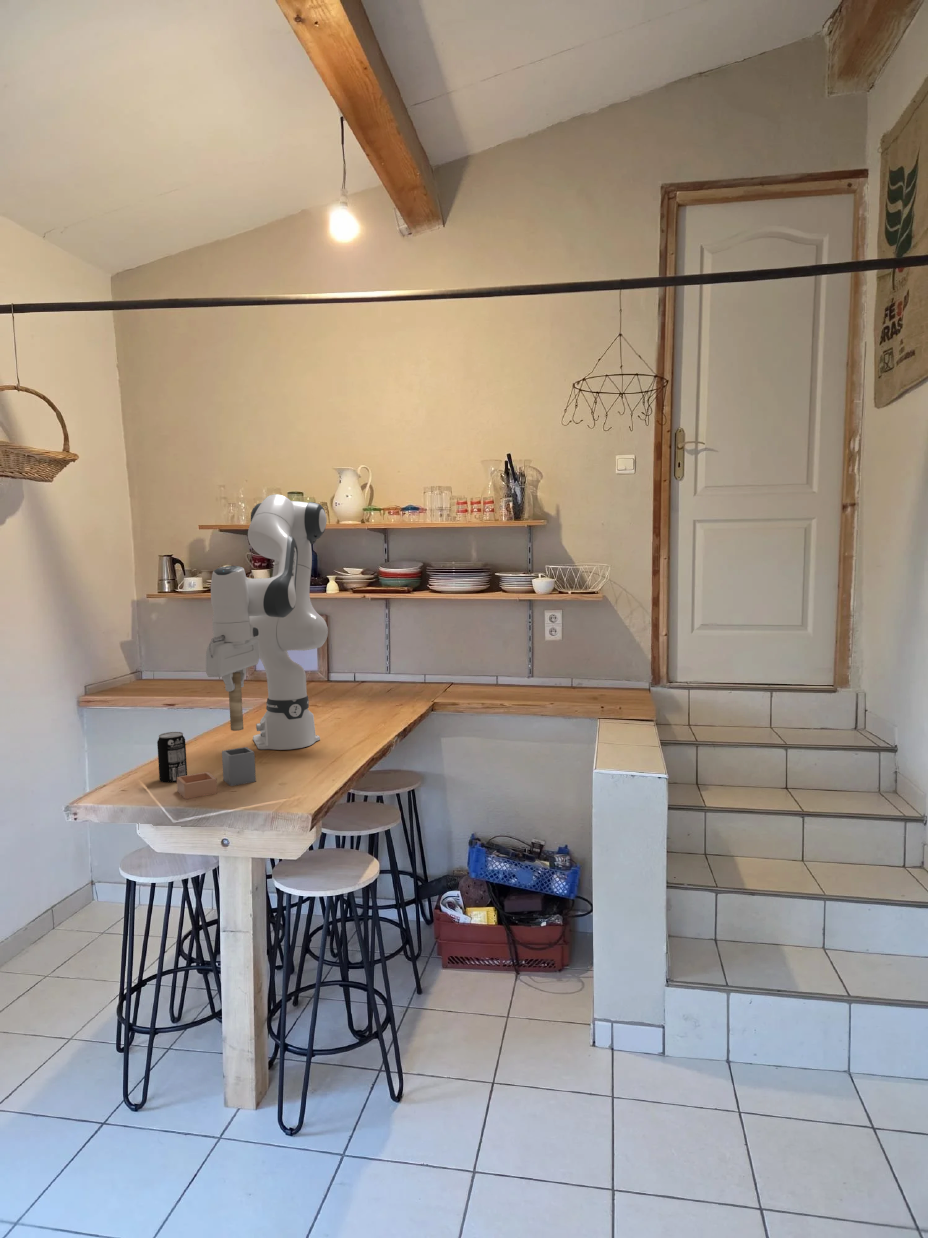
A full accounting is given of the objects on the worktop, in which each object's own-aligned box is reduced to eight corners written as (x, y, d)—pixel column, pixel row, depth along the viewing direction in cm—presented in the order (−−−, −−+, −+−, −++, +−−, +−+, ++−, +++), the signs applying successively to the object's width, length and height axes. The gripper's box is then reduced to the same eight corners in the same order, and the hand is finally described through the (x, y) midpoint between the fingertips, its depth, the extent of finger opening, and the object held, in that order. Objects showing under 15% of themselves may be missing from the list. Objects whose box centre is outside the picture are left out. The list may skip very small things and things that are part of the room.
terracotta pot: (177, 793, 188) (176, 777, 188) (208, 787, 192) (208, 771, 192) (184, 801, 182) (184, 784, 181) (217, 795, 186) (216, 778, 185)
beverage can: (166, 777, 202) (163, 731, 201) (191, 777, 202) (188, 731, 201) (155, 785, 195) (152, 737, 194) (181, 785, 195) (178, 737, 194)
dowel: (229, 729, 195) (226, 673, 193) (241, 727, 196) (238, 671, 195) (232, 731, 192) (229, 674, 191) (245, 729, 194) (242, 673, 192)
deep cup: (223, 782, 196) (221, 750, 196) (248, 778, 200) (246, 747, 199) (230, 788, 191) (229, 756, 190) (255, 783, 194) (254, 752, 194)
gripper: (221, 638, 181) (225, 698, 183) (262, 628, 201) (265, 682, 202) (197, 638, 183) (200, 697, 184) (240, 628, 202) (243, 681, 204)
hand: (235, 689), depth 193 cm, fingers closed on dowel, 3 cm apart
